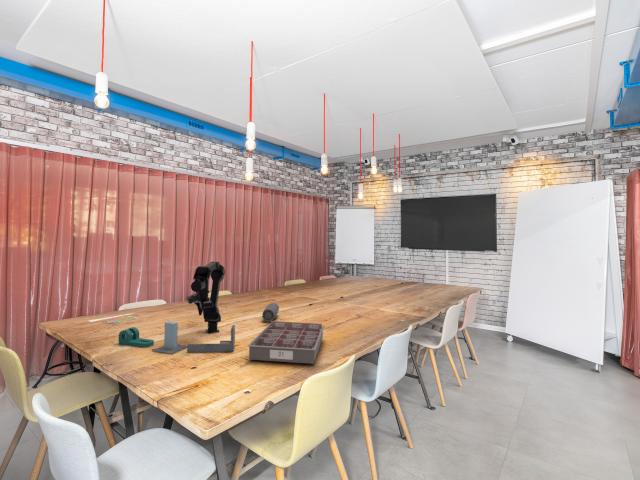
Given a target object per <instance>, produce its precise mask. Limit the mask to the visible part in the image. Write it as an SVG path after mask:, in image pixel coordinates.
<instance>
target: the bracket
mask: <svg viewBox="0 0 640 480" xmlns="http://www.w3.org/2000/svg"><path fill="white" fill-rule="evenodd" d="M117 344H118V345H120V346H126V347H127V346H128V347H136V348H143V349H145V348H150V347H151V348H152V347H153V346H154V345H155V340H154V339H148V338H143V337H142V338H141V337H140V331H139V329H138V328H137V327H135V326H133V327H128V328H127V329H126V328H125V329H123V330H121V331H120V332H119V333H118V343H117Z"/></svg>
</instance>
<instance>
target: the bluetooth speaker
mask: <svg viewBox="0 0 640 480" xmlns="http://www.w3.org/2000/svg"><path fill="white" fill-rule="evenodd" d="M279 310H280V306H279V305H278V303H276V302H271V303H269V304H268V305H267V306H266V307H265V308H264V310H263V311H262V314H261V315H262V319H263V320H264V321H265V322H271V321H274V319H275V318H276V317H277V315H278V313H279Z"/></svg>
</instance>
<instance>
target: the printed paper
mask: <svg viewBox="0 0 640 480" xmlns="http://www.w3.org/2000/svg"><path fill="white" fill-rule="evenodd" d="M133 314H135V312H131V313H125V314H119V315H114V316H109V317H102V318H96V319H95V318H94V319H90V320H88V322H91V323H92V322H97V321H102V322H107V324H113V325H115V324H121V323H122V320H121V321H120V320H118V319H114V318H117V317H120V318H121V319H123V320H126V319H127V320H128V321H130V319H131V320H132V319H133V320H132V322H134V321H139V320H140V319H139V318H136V317H135V316H133ZM128 315H129V316H128ZM130 315H131V316H130Z"/></svg>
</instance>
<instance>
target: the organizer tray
mask: <svg viewBox="0 0 640 480" xmlns="http://www.w3.org/2000/svg"><path fill="white" fill-rule="evenodd" d="M324 328H325V326H323V323H316V322H315V323H314V322H298V321H297V322H296V321H278V320H272V321H270V323H269V324H268V325H267V326H266V327H264V329H263V330H262V331H261V332H260V333H259V334H258V335H257V336H256V337H255V338H254V339H253V340H252V341H251V342H249V343H248V345H247V347H248V348H249V349H248V350H249V351H248V360H254V361H268V362H283V363H296V364H311V365H314V364H315V362H316V359H317V357H318V353H319V350H320V347H321V344H322V340H323V337H324V334H323V333H324Z"/></svg>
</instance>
